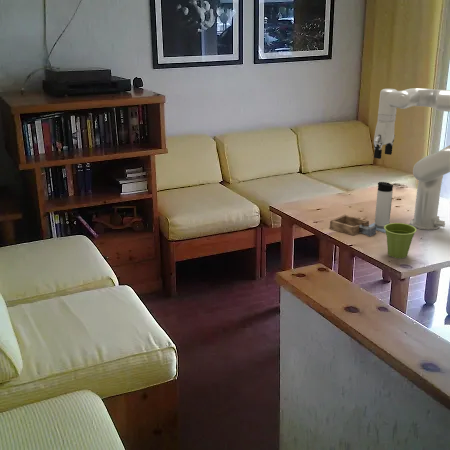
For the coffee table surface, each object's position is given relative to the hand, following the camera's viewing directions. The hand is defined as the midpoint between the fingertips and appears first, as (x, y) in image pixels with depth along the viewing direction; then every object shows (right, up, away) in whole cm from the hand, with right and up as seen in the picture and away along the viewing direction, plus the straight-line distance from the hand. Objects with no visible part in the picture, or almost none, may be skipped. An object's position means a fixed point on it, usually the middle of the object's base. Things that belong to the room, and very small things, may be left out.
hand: (382, 156), depth 249 cm
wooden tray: (-16, -32, -5) cm, 36 cm away
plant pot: (-4, -43, -33) cm, 54 cm away
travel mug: (-2, -32, -4) cm, 32 cm away
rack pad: (-1, -32, -4) cm, 32 cm away
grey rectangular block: (-11, -34, -10) cm, 37 cm away
